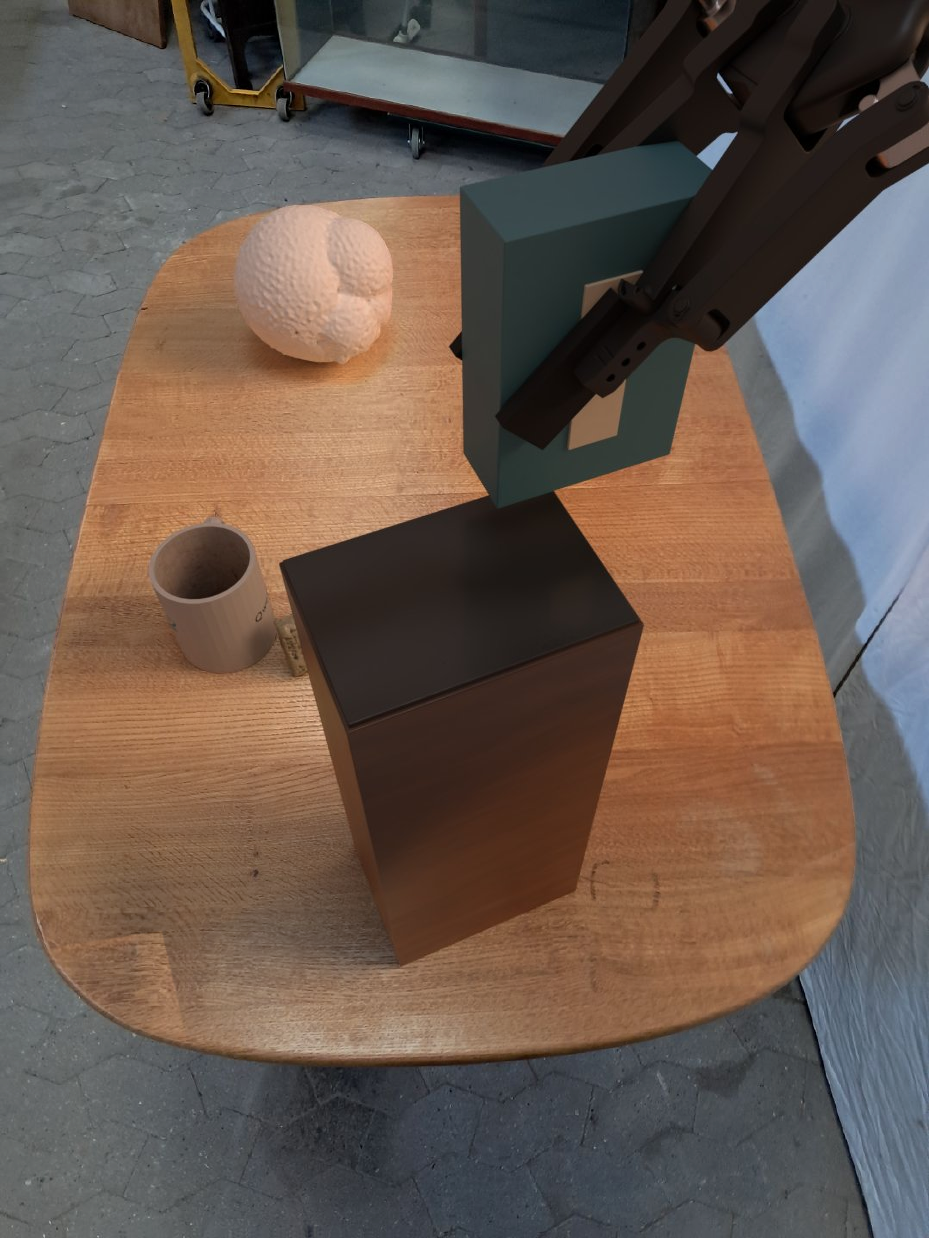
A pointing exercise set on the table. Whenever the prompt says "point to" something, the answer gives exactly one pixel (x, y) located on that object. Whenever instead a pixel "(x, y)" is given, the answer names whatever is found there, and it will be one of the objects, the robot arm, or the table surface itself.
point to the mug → (214, 596)
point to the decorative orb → (314, 283)
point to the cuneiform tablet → (290, 644)
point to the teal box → (566, 309)
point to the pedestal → (466, 706)
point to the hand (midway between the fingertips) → (495, 397)
